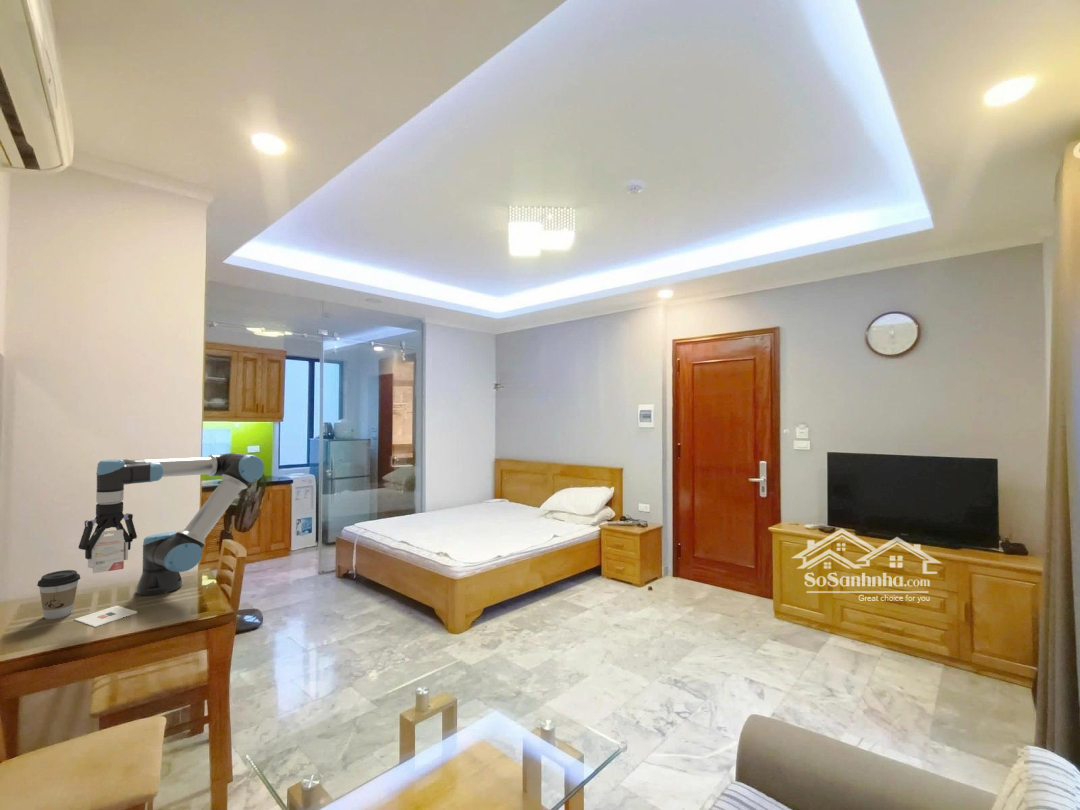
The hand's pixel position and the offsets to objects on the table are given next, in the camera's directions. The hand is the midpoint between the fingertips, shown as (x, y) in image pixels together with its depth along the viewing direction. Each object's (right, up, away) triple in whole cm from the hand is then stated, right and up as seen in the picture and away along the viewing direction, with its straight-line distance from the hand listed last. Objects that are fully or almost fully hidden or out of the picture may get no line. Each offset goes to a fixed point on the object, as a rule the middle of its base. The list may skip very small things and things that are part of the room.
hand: (108, 563), depth 178 cm
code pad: (-1, -19, 0) cm, 19 cm away
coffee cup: (-18, -19, 0) cm, 26 cm away
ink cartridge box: (0, -3, 0) cm, 3 cm away
